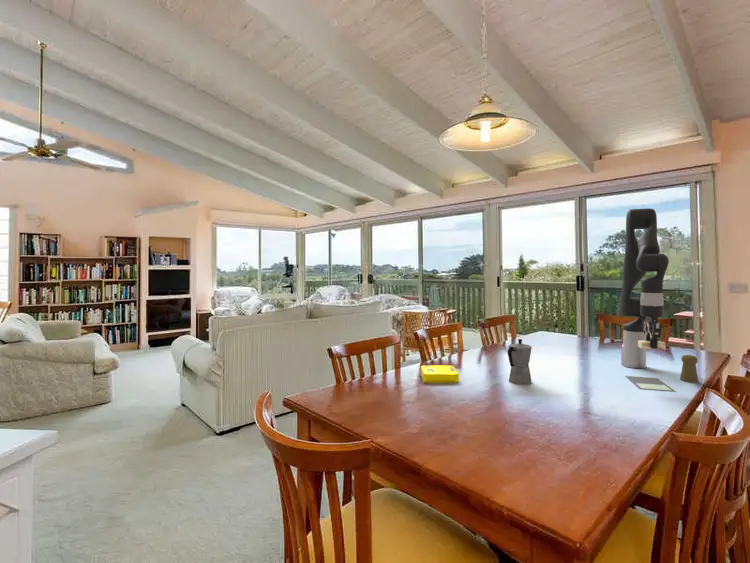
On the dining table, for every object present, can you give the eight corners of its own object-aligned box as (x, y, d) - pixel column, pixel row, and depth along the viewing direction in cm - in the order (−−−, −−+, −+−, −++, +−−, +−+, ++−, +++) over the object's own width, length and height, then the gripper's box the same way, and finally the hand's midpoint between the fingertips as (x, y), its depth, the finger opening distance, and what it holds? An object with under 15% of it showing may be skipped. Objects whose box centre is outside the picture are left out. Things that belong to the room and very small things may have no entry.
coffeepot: (518, 376, 172) (518, 335, 171) (538, 381, 164) (538, 338, 164) (498, 383, 162) (498, 340, 161) (519, 388, 155) (519, 343, 154)
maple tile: (661, 347, 156) (661, 341, 156) (665, 349, 152) (665, 343, 151) (637, 346, 158) (638, 340, 158) (641, 348, 154) (641, 342, 154)
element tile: (459, 384, 163) (459, 372, 163) (423, 384, 163) (423, 372, 163) (453, 374, 178) (453, 364, 178) (420, 374, 178) (420, 364, 178)
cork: (691, 379, 164) (692, 353, 164) (702, 383, 158) (702, 357, 158) (676, 379, 164) (676, 353, 164) (686, 383, 158) (686, 356, 158)
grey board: (624, 376, 169) (624, 375, 169) (657, 378, 166) (657, 377, 166) (639, 390, 151) (639, 388, 151) (676, 393, 147) (676, 391, 147)
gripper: (635, 302, 163) (635, 343, 163) (646, 305, 149) (646, 349, 149) (656, 303, 160) (656, 344, 160) (670, 305, 147) (669, 351, 147)
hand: (651, 346), depth 155 cm, fingers closed on maple tile, 4 cm apart
